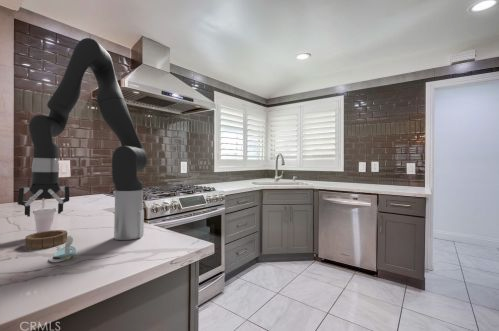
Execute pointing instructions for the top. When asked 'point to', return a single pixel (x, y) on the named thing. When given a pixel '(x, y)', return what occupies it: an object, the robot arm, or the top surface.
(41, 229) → the smoothie
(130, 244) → the top surface
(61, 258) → the pacifier
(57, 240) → the brown polygonal ring
